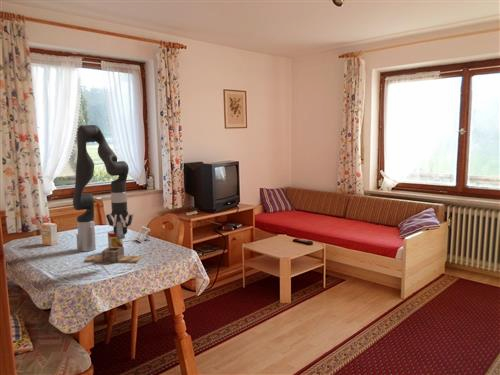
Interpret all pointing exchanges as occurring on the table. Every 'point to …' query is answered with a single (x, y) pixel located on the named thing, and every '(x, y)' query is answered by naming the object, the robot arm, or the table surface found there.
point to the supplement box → (49, 234)
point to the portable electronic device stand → (144, 234)
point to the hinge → (113, 256)
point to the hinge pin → (119, 230)
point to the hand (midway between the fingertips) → (120, 233)
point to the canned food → (114, 240)
